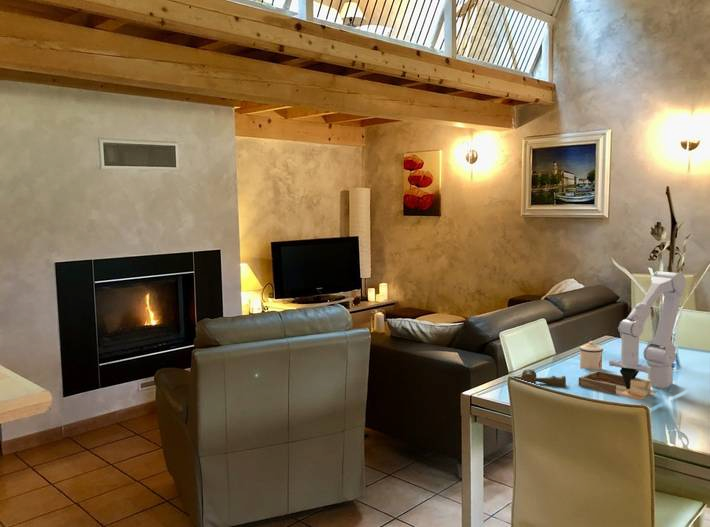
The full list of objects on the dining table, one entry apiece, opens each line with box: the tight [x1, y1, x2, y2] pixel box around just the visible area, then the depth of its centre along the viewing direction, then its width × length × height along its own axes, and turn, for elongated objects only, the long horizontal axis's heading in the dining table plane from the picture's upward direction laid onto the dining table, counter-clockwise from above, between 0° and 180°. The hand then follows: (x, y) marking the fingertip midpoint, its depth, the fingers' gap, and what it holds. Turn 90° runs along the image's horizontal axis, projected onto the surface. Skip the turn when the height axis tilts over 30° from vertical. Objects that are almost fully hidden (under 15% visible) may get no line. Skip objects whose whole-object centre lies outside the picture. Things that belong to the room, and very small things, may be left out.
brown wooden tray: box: [578, 370, 658, 401], centre depth 219 cm, size 14×23×4 cm, turn 40°
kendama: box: [511, 368, 567, 388], centre depth 227 cm, size 6×10×20 cm
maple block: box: [630, 376, 652, 398], centre depth 212 cm, size 5×5×5 cm
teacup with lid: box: [579, 340, 604, 370], centre depth 250 cm, size 12×9×12 cm
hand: (629, 388), depth 216 cm, fingers closed
